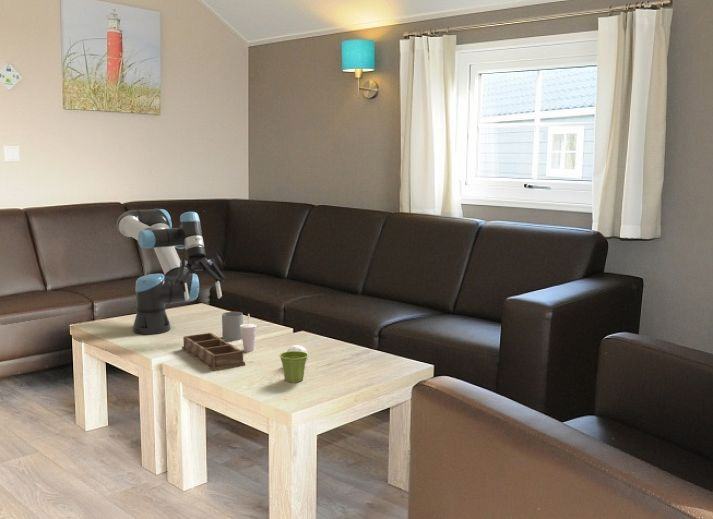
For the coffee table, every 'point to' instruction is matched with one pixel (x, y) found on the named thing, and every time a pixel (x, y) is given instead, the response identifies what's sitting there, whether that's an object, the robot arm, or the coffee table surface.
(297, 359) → the plant pot
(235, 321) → the cup
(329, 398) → the coffee table surface
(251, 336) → the smoothie
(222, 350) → the caddy
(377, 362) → the coffee table surface
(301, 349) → the geometric ball
